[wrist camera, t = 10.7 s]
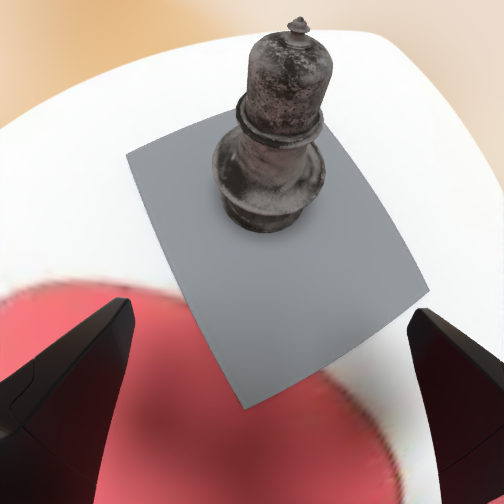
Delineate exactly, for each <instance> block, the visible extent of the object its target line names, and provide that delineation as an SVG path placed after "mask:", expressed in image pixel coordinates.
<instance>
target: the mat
mask: <svg viewBox="0 0 504 504" xmlns="http://www.w3.org/2000/svg"><path fill="white" fill-rule="evenodd" d="M236 126H238V122H237V119H236V109H233V110H230V111H227V112H224V113H221V114H219V115H216V116H213V117H210V118H208V119H205V120H202V121H200V122H197V123H195V124H192V125H190V126H187V127H185V128H182V129H180V130H178V131H175V132H173V133H171V134H168V135H166V136H164V137H162V138H159V139H157V140H155V141H153V142H151V143H149V144H146V145H144V146H142V147H140V148H138V149H136V150H134V151H132V152H130V153H128V154H126V157H127V160H128V163H129V166H130V169H131V171H132V174H133V177H134V180H135V182H136V185H137V188H138V190H139V193H140V196H141V198H142V201H143V203H144V206H145V208H146V211H147V213H148V216H149V218H150V221H151V223H152V226H153V228H154V231H155V233H156V235H157V238H158V240H159V242H160V245H161V247H162V249H163V252H164V254H165V256H166V259H167V261H168V263H169V265H170V268H171V270H172V272H173V274H174V276H175V279H176V281H177V283H178V285H179V287H180V289H181V291H182V294H183V296H184V298H185V300H186V302H187V304H188V306H189V308H190V310H191V312H192V314H193V316H194V318H195V320H196V322H197V324H198V326H199V328H200V330H201V332H202V334H203V336H204V338H205V340H206V342H207V344H208V346H209V348H210V349H211V351H212V353H213V355H214V357H215V359H216V361H217V363H218V364H219V366H220V368H221V370H222V372H223V373H224V375H225V377H226V379H227V381H228V382H229V384H230V386H231V388H232V389H233V391H234V393H235V395H236V396H237V398H238V400H239V401H240V403H241V405H242V406H243V408H244V410H246V409H248V408H250V407H252V406H254V405H256V404H258V403H260V402H262V401H264V400H266V399H268V398H270V397H272V396H274V395H276V394H278V393H280V392H282V391H283V390H285V389H287V388H289V387H291V386H293V385H294V384H296V383H298V382H300V381H301V380H303V379H305V378H307V377H308V376H310V375H312V374H313V373H315V372H317V371H318V370H320V369H322V368H323V367H325V366H327V365H328V364H330V363H332V362H333V361H335V360H336V359H338V358H339V357H341V356H343V355H344V354H346V353H347V352H349V351H350V350H352V349H353V348H355V347H356V346H358V345H359V344H361V343H362V342H363V341H365V340H366V339H368V338H369V337H371V336H372V335H373V334H375V333H376V332H378V331H379V330H380V329H382V328H383V327H385V326H386V325H387V324H389V323H390V322H391V321H393V320H394V319H395V318H397V317H398V316H399V315H400V314H402V313H403V312H404V311H406V310H407V309H408V308H409V307H411V306H412V305H413V304H414V303H416V302H417V301H418V300H419V299H420V298H422V297H423V296H424V295H425V294H426V293H428V292H429V291H430V290H429V288H428V286H427V284H426V282H425V280H424V278H423V276H422V274H421V272H420V270H419V268H418V266H417V264H416V262H415V260H414V258H413V257H412V255H411V253H410V251H409V249H408V247H407V245H406V244H405V242H404V240H403V238H402V237H401V235H400V233H399V231H398V230H397V228H396V226H395V224H394V223H393V221H392V219H391V218H390V216H389V214H388V213H387V211H386V210H385V208H384V206H383V205H382V203H381V202H380V200H379V198H378V197H377V195H376V194H375V192H374V191H373V189H372V188H371V186H370V185H369V183H368V182H367V180H366V179H365V177H364V176H363V174H362V173H361V171H360V170H359V169H358V167H357V166H356V164H355V163H354V162H353V160H352V159H351V157H350V156H349V155H348V153H347V152H346V151H345V149H344V148H343V146H342V145H341V144H340V142H339V141H338V140H337V139H336V137H335V136H334V135H333V133H332V132H331V131H330V130H329V128H328V127H327V126H326V124H325V123H323V129H322V131H321V132H320V134H319V136H318V137H317V138H316V139H315V140H314V143H315V144H316V145H317V146H318V148H319V149H320V152H321V154H322V156H323V158H324V162H325V169H326V174H325V180H324V185H323V187H322V188H321V190H320V192H319V194H318V196H317V197H316V198H315V199H314V200H313V201H312V202H311V203H310V204H309V205H308V206H306V207H304V209H303V211H302V212H301V214H300V216H299V218H298V219H297V220H296V221H295V222H294V223H293V224H292V225H291V226H289V227H287V228H285V229H283V230H281V231H277V232H273V233H256V232H253V231H249V230H246V229H244V228H242V227H241V226H239V225H237V224H236V223H235V222H234V221H233V220H232V219H231V218H230V217H229V216H228V215H227V213H226V211H225V210H224V208H223V205H222V201H221V197H220V194H221V190H220V189H219V187H218V185H217V184H216V182H215V179H214V175H213V171H212V158H213V153H214V151H215V148H216V146H217V143H218V142H219V141H220V140H221V139H222V137H223V136H224V135H225V134H226V133H227V132H229V131H230V130H232V129H233V128H234V127H236Z"/></svg>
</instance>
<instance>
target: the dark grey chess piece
mask: <svg viewBox="0 0 504 504" xmlns="http://www.w3.org/2000/svg"><path fill="white" fill-rule="evenodd" d="M287 27H288V28H289V29H290V30H291V31H283V32H277V33H271V34H269V35H266V36H264V37H263V38H262V39H260V40H259V41H258V42H257V43H255V44H254V46H253V48H252V49H251V52H250V55H249V64H248V78H247V92H246V93H245V94H244V95H243V96H242V97H241V98H240V99H239V101H238V103H237V106H236V119H237V122H238V126H236V127H234V128H233V129H232V130H230V131H229V132H227V133H226V134H225V135H224V136H223V137H222V139H221V140H220V141H219V142H218V143H217V146H216V148H215V151H214V153H213V158H212V171H213V175H214V179H215V182H216V184H217V185H218V187H219V189H220V190H221V194H220V197H221V201H222V205H223V208H224V210H225V211H226V213H227V215H228V216H229V217H230V218H231V219H232V220H233V221H234V222H235V223H236V224H237V225H239V226H241V227H242V228H244V229H246V230H249V231H253V232H256V233H273V232H277V231H281V230H283V229H285V228H287V227H289V226H291V225H292V224H293V223H294V222H295V221H296V220H297V219H298V218H299V216H300V214H301V212H302V211H303V209H304V207H306V206H308V205H309V204H310V203H311V202H312V201H313V200H314V199H315V198H316V197H317V196H318V194H319V192H320V190H321V188H322V187H323V185H324V180H325V174H326V169H325V162H324V158H323V156H322V154H321V152H320V149H319V148H318V146H317V145H316V144H315V143H314V140H315V139H316V138H317V137H318V136H319V134H320V132H321V131H322V129H323V123H324V118H323V113H322V111H321V109H320V106H321V103H322V101H323V98H324V95H325V93H326V90H327V87H328V84H329V82H330V79H331V76H332V70H333V62H332V59H331V56H330V54H329V53H328V51H327V50H326V48H325V47H324V46H323V45H322V44H321V43H319V42H318V41H317V40H315V39H313V38H312V37H310V36H308V35H305V33H307V32H309V31H310V28H309V27H308V26H307V23H306V22H305V21H304V19H303V17H298V18H297V19H295V20H293V22H291V23H288V25H287Z"/></svg>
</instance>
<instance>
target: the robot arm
mask: <svg viewBox="0 0 504 504" xmlns="http://www.w3.org/2000/svg"><path fill="white" fill-rule="evenodd" d="M134 328H135V316H134V312H133V308H132V304H131V301H130V299H128V298H123V297H116V298H114V299H113V300H112V301H110V302H109V303H107V304H106V305H105V306H103V307H102V308H100V309H99V310H98V311H96V312H95V313H93V314H92V315H91V316H89V317H88V318H86V319H85V320H84V321H82V322H81V323H80V324H78V325H77V326H75V327H74V328H73V329H71V330H70V331H69V332H67V333H66V334H65V335H63V336H62V337H61V338H59V339H58V340H57V341H55V342H54V343H53V344H51V345H50V346H49V347H47V348H46V349H45V350H43V351H42V352H41V353H39V354H38V355H37V356H36V357H35V359H32V360H30V361H29V362H28V363H26V364H25V365H24V366H22V367H21V368H20V369H18V370H17V371H16V372H14V373H13V374H12V375H10V376H9V377H7V378H6V379H4V380H3V381H1V382H0V504H93V502H94V497H95V491H96V484H97V480H98V475H99V470H100V466H101V461H102V456H103V452H104V448H105V444H106V440H107V435H108V431H109V428H110V424H111V420H112V416H113V412H114V409H115V405H116V402H117V398H118V395H119V391H120V388H121V385H122V381H123V378H124V375H125V371H126V367H127V363H128V357H129V352H130V347H131V342H132V338H133V333H134ZM407 336H408V340H409V345H410V349H411V354H412V359H413V364H414V369H415V373H416V377H417V380H418V384H419V387H420V391H421V395H422V398H423V402H424V406H425V410H426V414H427V418H428V423H429V427H430V432H431V436H432V441H433V446H434V452H435V457H436V463H437V469H438V476H439V484H440V491H441V500H442V504H504V363H503V362H502V361H500V360H499V359H498V358H497V357H495V356H494V355H493V354H491V353H490V352H489V351H487V350H486V349H485V348H483V347H482V346H481V345H479V344H478V343H476V342H475V341H474V340H472V339H471V338H470V337H468V336H467V335H465V334H464V333H463V332H461V331H460V330H458V329H457V328H456V327H454V326H453V325H451V324H450V323H449V322H447V321H446V320H444V319H443V318H441V317H440V316H439V315H437V314H436V313H434V312H433V311H431V310H430V309H428V308H418V309H417V310H415V312H414V314H413V316H412V318H411V320H410V322H409V324H408V326H407Z"/></svg>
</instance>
